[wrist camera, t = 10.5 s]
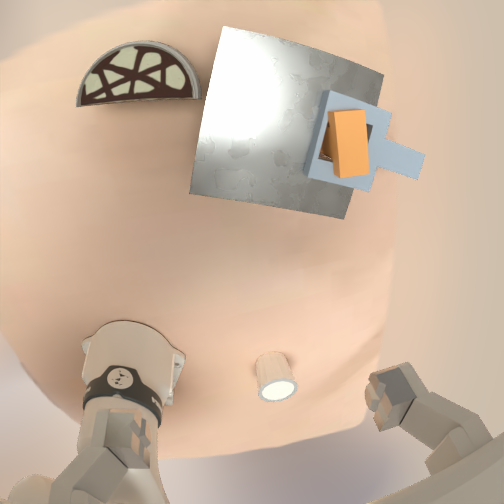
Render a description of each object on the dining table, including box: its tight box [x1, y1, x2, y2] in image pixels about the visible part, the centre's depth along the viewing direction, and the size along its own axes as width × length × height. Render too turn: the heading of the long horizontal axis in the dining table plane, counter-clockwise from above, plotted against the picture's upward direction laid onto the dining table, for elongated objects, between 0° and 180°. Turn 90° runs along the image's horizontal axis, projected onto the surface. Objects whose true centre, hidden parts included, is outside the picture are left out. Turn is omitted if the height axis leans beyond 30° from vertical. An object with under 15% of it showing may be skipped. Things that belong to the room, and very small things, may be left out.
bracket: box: [303, 90, 425, 192], centre depth 28 cm, size 8×13×3 cm, turn 78°
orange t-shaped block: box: [320, 109, 369, 178], centre depth 29 cm, size 6×3×8 cm, turn 9°
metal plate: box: [189, 26, 384, 219], centre depth 31 cm, size 16×16×10 cm
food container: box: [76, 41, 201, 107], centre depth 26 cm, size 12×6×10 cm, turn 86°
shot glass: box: [256, 352, 298, 402], centre depth 52 cm, size 7×7×7 cm
